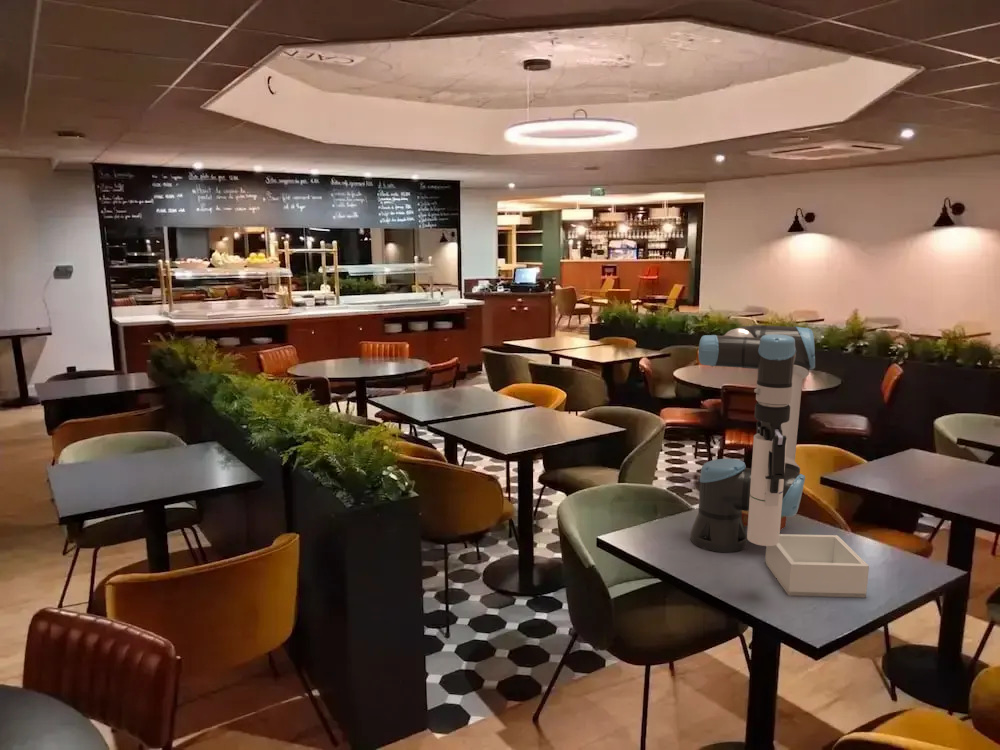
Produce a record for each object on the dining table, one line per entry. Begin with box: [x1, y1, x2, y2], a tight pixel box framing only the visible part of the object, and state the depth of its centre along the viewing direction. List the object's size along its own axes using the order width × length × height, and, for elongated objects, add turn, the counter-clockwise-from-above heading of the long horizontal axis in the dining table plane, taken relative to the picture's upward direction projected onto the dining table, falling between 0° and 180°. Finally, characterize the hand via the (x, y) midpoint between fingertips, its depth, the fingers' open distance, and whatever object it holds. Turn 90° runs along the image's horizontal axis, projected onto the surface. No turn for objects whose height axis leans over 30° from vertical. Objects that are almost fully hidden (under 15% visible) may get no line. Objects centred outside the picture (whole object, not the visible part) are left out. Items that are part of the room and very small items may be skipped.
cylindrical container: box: [746, 433, 787, 547], centre depth 167 cm, size 7×7×25 cm
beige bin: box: [764, 533, 870, 599], centre depth 179 cm, size 18×18×8 cm
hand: (765, 498), depth 168 cm, fingers closed on cylindrical container, 7 cm apart
